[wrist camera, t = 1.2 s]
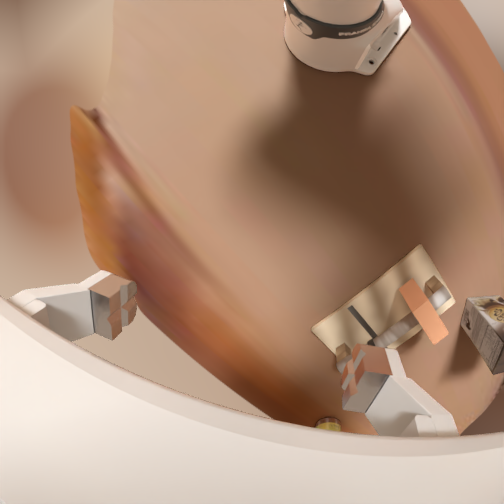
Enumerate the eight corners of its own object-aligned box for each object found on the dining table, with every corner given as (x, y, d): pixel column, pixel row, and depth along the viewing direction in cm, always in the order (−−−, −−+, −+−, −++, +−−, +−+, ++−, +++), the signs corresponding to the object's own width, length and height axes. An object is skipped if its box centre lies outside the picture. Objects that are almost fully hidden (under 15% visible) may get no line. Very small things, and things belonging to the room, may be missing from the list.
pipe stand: (419, 243, 42) (436, 257, 35) (453, 299, 43) (469, 319, 36) (311, 327, 50) (310, 351, 43) (354, 371, 51) (357, 397, 45)
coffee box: (499, 293, 41) (541, 334, 26) (491, 321, 42) (527, 366, 27) (466, 296, 42) (506, 343, 27) (459, 326, 44) (492, 376, 29)
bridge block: (412, 277, 42) (428, 299, 34) (432, 309, 43) (448, 333, 35) (398, 288, 43) (412, 312, 35) (419, 319, 44) (433, 345, 36)
